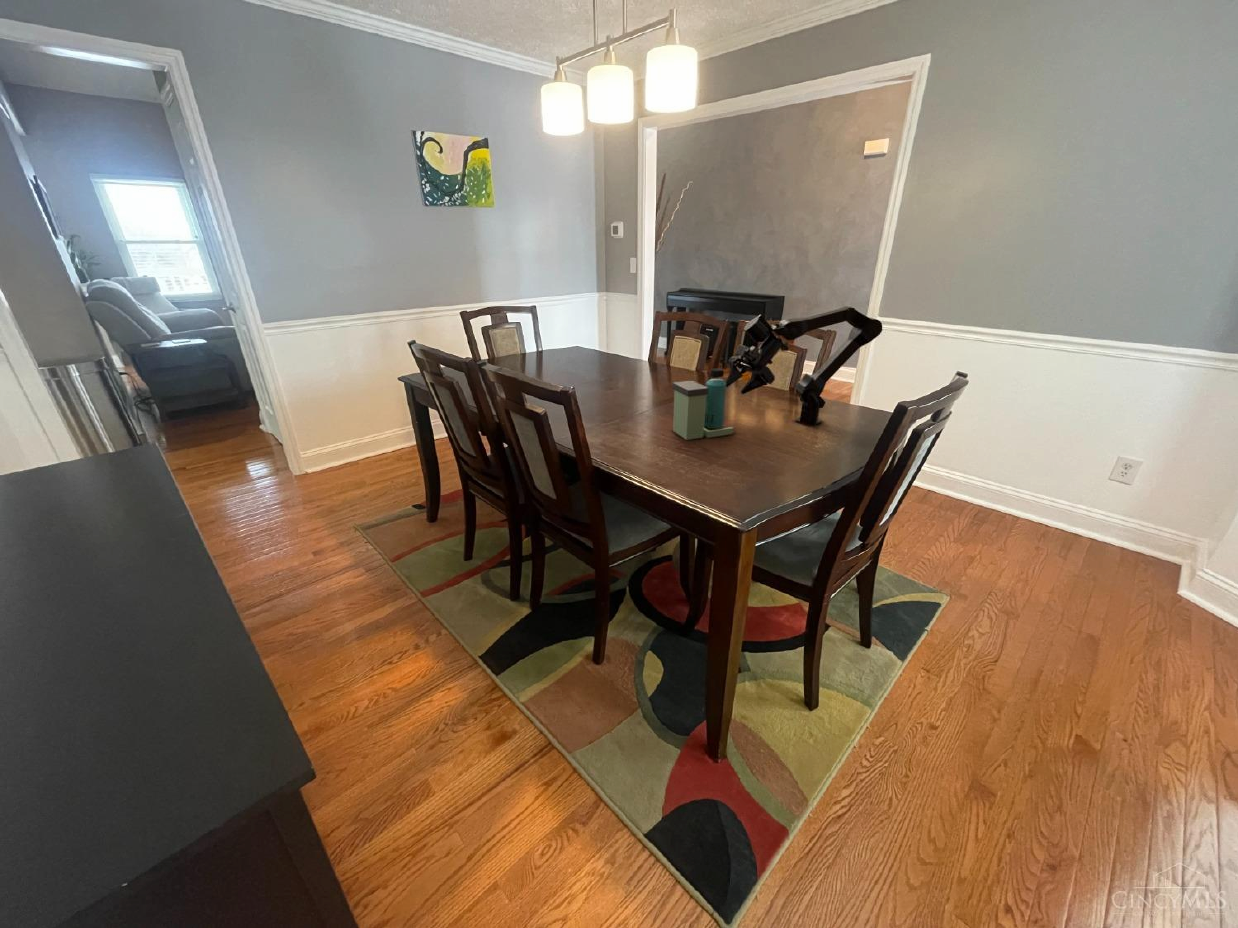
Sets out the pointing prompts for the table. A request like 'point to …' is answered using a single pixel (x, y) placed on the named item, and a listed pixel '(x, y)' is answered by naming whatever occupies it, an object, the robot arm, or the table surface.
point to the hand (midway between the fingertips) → (733, 389)
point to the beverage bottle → (715, 400)
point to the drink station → (692, 411)
